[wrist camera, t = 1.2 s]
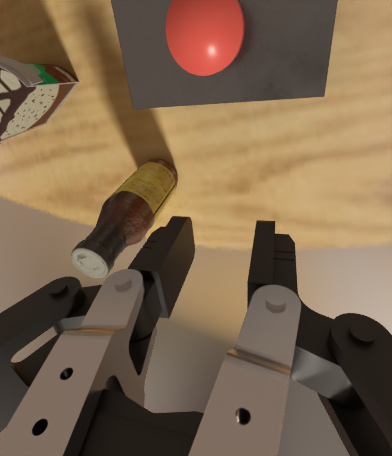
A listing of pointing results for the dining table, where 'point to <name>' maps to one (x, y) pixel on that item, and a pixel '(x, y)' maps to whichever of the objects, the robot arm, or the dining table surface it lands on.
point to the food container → (30, 94)
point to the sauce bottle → (126, 217)
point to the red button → (205, 34)
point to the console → (244, 62)
